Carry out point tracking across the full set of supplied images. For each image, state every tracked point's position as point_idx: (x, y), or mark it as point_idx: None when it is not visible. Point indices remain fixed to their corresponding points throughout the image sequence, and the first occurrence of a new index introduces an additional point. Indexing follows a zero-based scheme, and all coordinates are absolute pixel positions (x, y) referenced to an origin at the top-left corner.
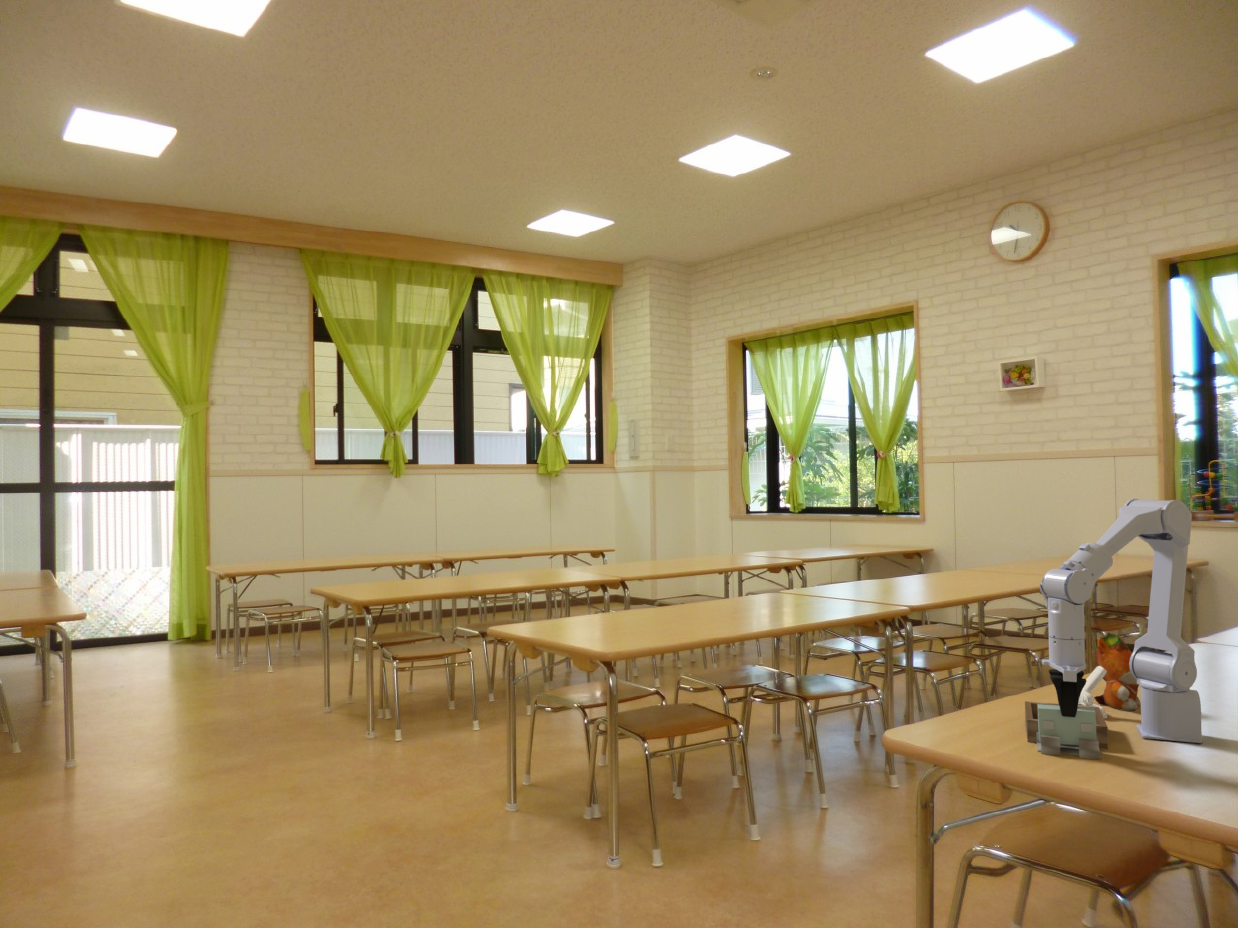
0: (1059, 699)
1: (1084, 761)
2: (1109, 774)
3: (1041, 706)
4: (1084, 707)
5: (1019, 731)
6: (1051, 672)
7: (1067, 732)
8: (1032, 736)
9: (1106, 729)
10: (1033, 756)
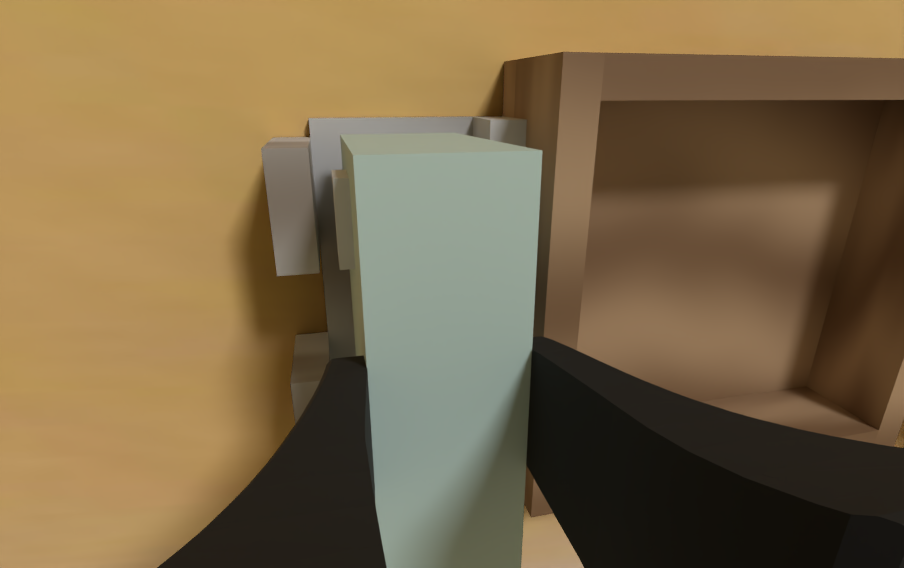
0: (281, 446)
1: (231, 357)
2: (48, 469)
3: (452, 191)
4: (506, 526)
5: (703, 21)
6: (864, 558)
7: (356, 328)
8: (516, 92)
9: (526, 500)
10: (180, 85)
